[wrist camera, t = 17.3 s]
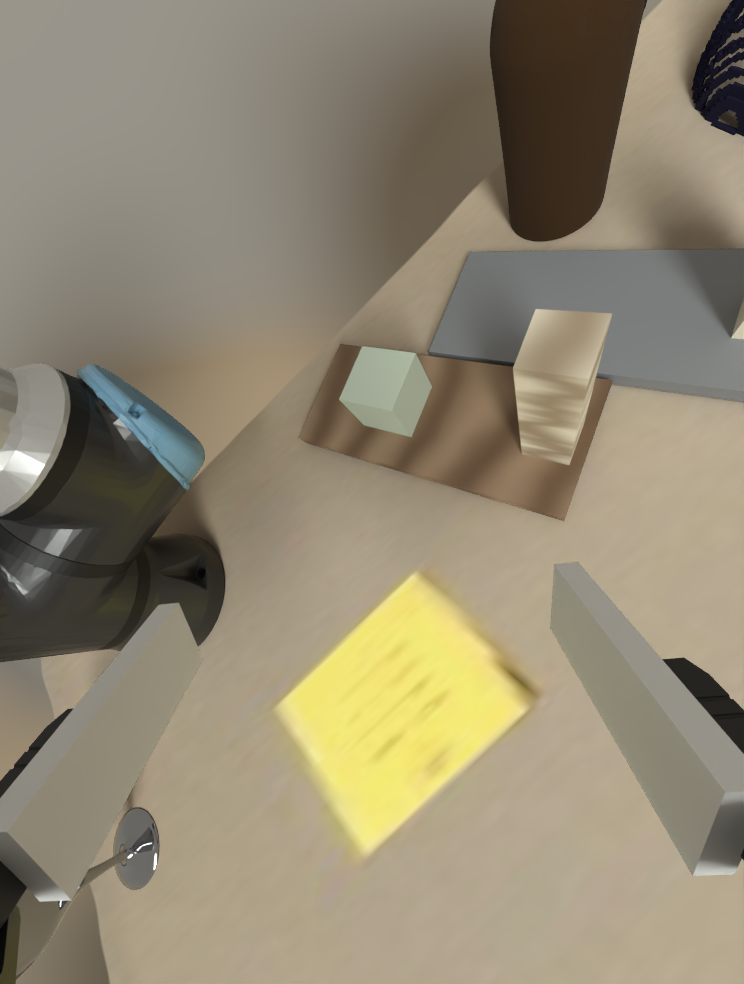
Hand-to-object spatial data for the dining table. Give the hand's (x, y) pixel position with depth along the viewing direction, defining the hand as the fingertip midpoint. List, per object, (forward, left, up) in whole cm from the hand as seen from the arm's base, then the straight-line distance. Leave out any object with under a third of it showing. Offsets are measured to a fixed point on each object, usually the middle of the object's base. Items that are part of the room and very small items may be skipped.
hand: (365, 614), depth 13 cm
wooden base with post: (-10, +17, -23) cm, 30 cm away
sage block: (-14, +17, -22) cm, 31 cm away
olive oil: (-6, +44, -24) cm, 50 cm away
